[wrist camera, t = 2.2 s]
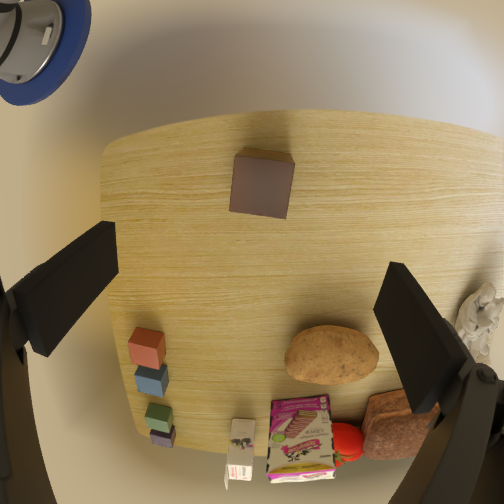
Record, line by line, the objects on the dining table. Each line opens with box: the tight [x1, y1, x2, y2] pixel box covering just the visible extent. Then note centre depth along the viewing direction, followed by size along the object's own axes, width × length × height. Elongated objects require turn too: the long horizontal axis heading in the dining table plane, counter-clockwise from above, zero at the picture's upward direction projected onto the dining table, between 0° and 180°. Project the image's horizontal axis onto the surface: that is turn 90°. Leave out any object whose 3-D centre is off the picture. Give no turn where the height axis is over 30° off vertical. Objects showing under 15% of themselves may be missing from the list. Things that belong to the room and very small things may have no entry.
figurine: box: [455, 282, 504, 362], centre depth 37 cm, size 8×10×12 cm
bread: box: [360, 389, 440, 460], centre depth 46 cm, size 17×29×11 cm, turn 96°
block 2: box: [134, 364, 169, 398], centre depth 49 cm, size 5×5×4 cm
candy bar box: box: [266, 395, 336, 483], centre depth 45 cm, size 11×5×16 cm, turn 101°
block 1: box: [128, 327, 166, 370], centre depth 46 cm, size 5×5×4 cm
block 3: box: [145, 403, 173, 433], centre depth 55 cm, size 5×5×4 cm
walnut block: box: [229, 148, 295, 219], centre depth 31 cm, size 6×6×8 cm
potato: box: [285, 325, 379, 386], centre depth 41 cm, size 10×14×8 cm
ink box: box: [224, 418, 255, 490], centre depth 50 cm, size 8×5×15 cm, turn 179°
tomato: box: [332, 423, 364, 467], centre depth 52 cm, size 14×13×9 cm
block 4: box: [150, 426, 176, 448], centre depth 59 cm, size 5×5×4 cm
